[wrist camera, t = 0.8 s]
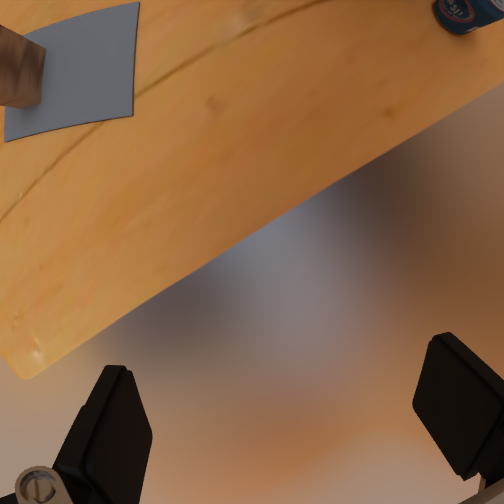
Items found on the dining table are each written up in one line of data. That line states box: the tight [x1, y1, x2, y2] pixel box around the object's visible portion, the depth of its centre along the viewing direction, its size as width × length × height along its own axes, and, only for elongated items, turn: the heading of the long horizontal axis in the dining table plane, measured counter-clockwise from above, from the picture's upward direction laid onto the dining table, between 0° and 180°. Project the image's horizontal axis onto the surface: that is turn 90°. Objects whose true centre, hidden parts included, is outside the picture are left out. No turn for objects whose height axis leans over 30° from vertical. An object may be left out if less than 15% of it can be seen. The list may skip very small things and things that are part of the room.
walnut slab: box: [0, 25, 46, 109], centre depth 23 cm, size 8×4×12 cm, turn 1°
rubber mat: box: [4, 2, 140, 142], centre depth 30 cm, size 16×20×1 cm
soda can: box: [434, 0, 504, 34], centre depth 24 cm, size 7×7×12 cm
